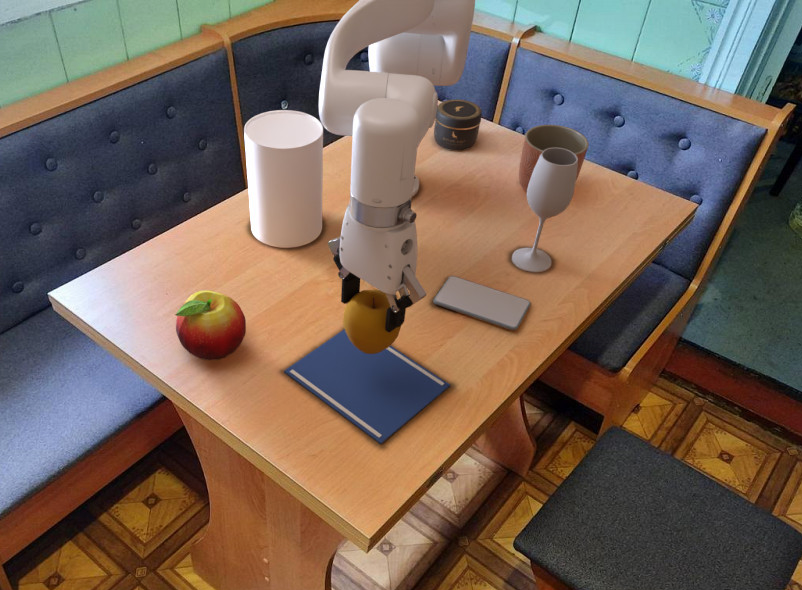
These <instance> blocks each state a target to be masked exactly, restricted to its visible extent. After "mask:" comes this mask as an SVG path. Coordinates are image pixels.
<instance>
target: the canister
mask: <svg viewBox="0 0 802 590" xmlns="http://www.w3.org/2000/svg"><path fill="white" fill-rule="evenodd" d="M243 133H244V134H243V135H244V136H243V137H244V148H245V162H246V163H245V164H246V176H247V190H248V202H249V218H250V229H251V233H252V235H253V237H254V238H256V239H257V240H258V241H259V242H261V243H263V244H265V245H267V246H270V247H275V248H282V249H289V248H290V249H291V248H297V247H302V246H305V245H308V244H310V243H312V242H314V241H315V240H316V239H318V238H319V236H320V235H321V234H322V231H323V186H324V185H323V184H324V183H323V181H324V180H323V178H324V177H323V175H324V174H323V173H324V172H323V171H324V126H323V124H322V122H321V120H320V119H318V118H316V117H315V116H313V115H311V114H309V113H306V112H303V111H298V110H290V109H276V110H270V111H265V112H262V113H258V114H257V115H254V116H253V117H251V118H250V119H248V120H247V121H246V123H245V125H244V127H243Z"/></svg>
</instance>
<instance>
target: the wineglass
mask: <svg viewBox="0 0 802 590" xmlns="http://www.w3.org/2000/svg"><path fill="white" fill-rule="evenodd" d="M577 167H578V157H577V156H576V154H574V153H573V152H571V151H569V150H567V149H563V148H548V149H545V150H544V151H543V152H542V153H541V155H540V157H539V159H538V161H537V163H536V166H535V168H534V170H533V173H532V176H531V178H530V181H529V184H528V189H527V191H526V200H527V204H528V207H530V210H531V211H532V213H534V214H535V215H536V216H537V217H538V219H539V222H538V223H539V224H538V227H537V230H536V234H535V238H534V242H533V245H532V247H521V248H517V249H516V250H514V251H513V253H512V255H511V261H512V264H514V265H515V266H516V267H517V268H518V269H520V270H522V271H525V272H528V273H543V272H545V271H548V270H549V269H550V268H551V266H552V262H553V261H552V258H551V257H550V255H549V254H547V252H545V251H543V250H541V249H538V245H539V242H540V239H541V234H542V231H543V227H544V224H545V222H546V220H548V219H551V218H554V217H556V216H558V215H560V214H562V213H563V212H565V210H566V209H567V208H568V207H569V205H570V204H571V202H572V200H573V197H574V193H575V188H576V182H577V180H576V176H577Z"/></svg>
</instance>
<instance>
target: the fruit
mask: <svg viewBox="0 0 802 590" xmlns="http://www.w3.org/2000/svg"><path fill="white" fill-rule="evenodd" d="M181 305H182V306H180V307H179V309H178V310H177V312H176V313H175V314H174V315H175V316H176V321H175V332H176V335H177V338H178V340H179V343H180V345H181V346H182V347H183V348H184V349H185V351H187V352H188V353H189V354H190V355H191V356H194V357H196V358H198V359H200V360H205V361H218V360H222V359H224V358H227V357H228V356H230V355H231V354H234V353H235V351H237V350H238V348H239V347H241V345H242V343H243V340H244V339H245V336H246V333H247V319H246V316H245V314H244V312H243V310H242V308H241V306H240V305H239V303H238V302H237V301H236V300H234V299H233V298H232V297H230V296H228V295H227V294H224V293H222V292H218V291H214V290H208V289H204V290H198V291H196V292H194V293H192V294H191V295H189V297H188V298H186V300H185V301H184V302H183V303H182V304H181Z"/></svg>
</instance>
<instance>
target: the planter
mask: <svg viewBox="0 0 802 590" xmlns="http://www.w3.org/2000/svg"><path fill="white" fill-rule="evenodd" d="M589 144H590V143H589V140H588V139H587V137H586V136H585V135H584V134H583V133H581V132H580V131H578V130H576V129H574V128H571V127H568V126H564V125H559V124H541V125H540V124H539V125H536V126H534V127H531V128H529V129H528V130H527V131H526V132H525V134H524V139H523V145H522V150H521V155H520V161H519V167H518V168H519V169H518V181H519V185H520V186H521V187H522V188H523V190H524V191H525V192H527V189H528V184H529V181H530V178H531V176H532V173H533V170H534V168H535V166H536V163H537V161H538V159H539V157H540V155H541V153H542V152H543V151H544V150H545V149H548V148H563V149H567V150H569V151H571V152H573V153H574V154H576V156H577V157H578V167H577V176H576V181H578V178H579V175H580V172H581V170H582V167H583V164H584V161H585V158H586V156H587V151H588V149H589V146H590V145H589Z"/></svg>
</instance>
